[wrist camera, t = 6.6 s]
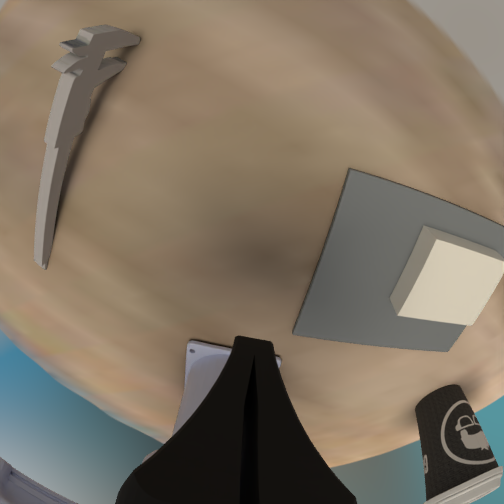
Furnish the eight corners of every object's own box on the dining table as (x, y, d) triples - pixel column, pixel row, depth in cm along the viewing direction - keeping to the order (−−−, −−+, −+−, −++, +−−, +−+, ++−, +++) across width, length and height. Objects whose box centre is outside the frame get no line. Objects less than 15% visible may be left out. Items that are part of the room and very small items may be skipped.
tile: (389, 297, 20) (462, 310, 20) (397, 315, 18) (471, 325, 19) (423, 224, 17) (495, 250, 18) (436, 238, 15) (508, 263, 16)
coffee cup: (399, 399, 27) (424, 517, 14) (473, 364, 25) (516, 474, 12) (407, 427, 31) (425, 521, 18) (469, 400, 28) (498, 489, 15)
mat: (446, 349, 23) (447, 352, 23) (292, 331, 23) (292, 334, 22) (514, 231, 17) (517, 233, 17) (349, 167, 16) (350, 169, 16)
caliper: (132, 32, 13) (73, 14, 8) (145, 38, 13) (88, 20, 8) (40, 261, 22) (-1, 302, 17) (49, 268, 22) (9, 310, 17)
